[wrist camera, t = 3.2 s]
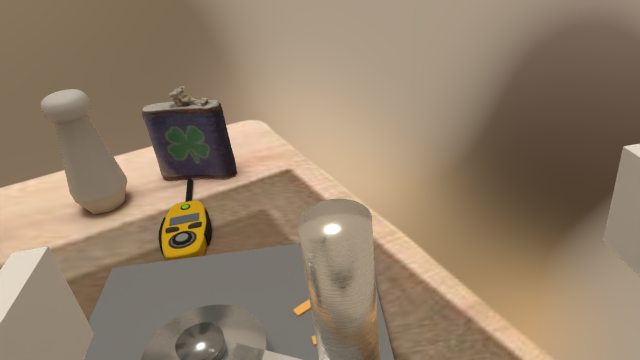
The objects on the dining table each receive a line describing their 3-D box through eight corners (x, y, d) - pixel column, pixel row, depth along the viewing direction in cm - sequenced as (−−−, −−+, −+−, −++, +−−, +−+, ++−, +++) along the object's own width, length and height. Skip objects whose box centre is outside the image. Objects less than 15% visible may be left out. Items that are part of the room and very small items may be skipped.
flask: (159, 181, 56) (131, 95, 51) (169, 169, 59) (143, 86, 53) (234, 180, 55) (214, 91, 49) (241, 167, 57) (222, 81, 52)
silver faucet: (119, 405, 29) (25, 230, 22) (192, 310, 36) (136, 150, 29) (362, 489, 24) (339, 291, 17) (398, 359, 30) (392, 175, 23)
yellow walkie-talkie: (152, 257, 41) (166, 174, 54) (158, 274, 42) (170, 188, 55) (208, 247, 42) (209, 166, 55) (212, 263, 43) (212, 181, 56)
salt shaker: (144, 194, 54) (105, 85, 47) (104, 223, 50) (55, 108, 43) (108, 186, 56) (66, 81, 50) (67, 213, 52) (16, 102, 45)
